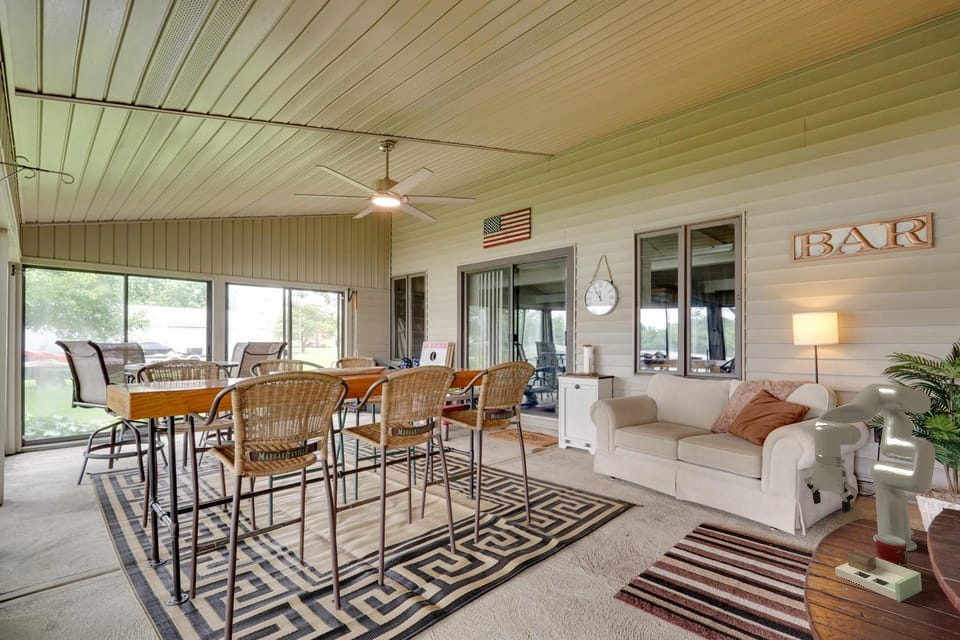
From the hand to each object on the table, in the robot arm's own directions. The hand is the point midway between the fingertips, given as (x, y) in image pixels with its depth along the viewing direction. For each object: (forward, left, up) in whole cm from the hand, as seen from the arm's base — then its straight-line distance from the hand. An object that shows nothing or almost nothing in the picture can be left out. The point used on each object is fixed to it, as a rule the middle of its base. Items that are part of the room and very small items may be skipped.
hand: (831, 507), depth 167 cm
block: (0, +8, -18) cm, 20 cm away
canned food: (-11, +12, -20) cm, 26 cm away
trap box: (+2, +13, -20) cm, 24 cm away
